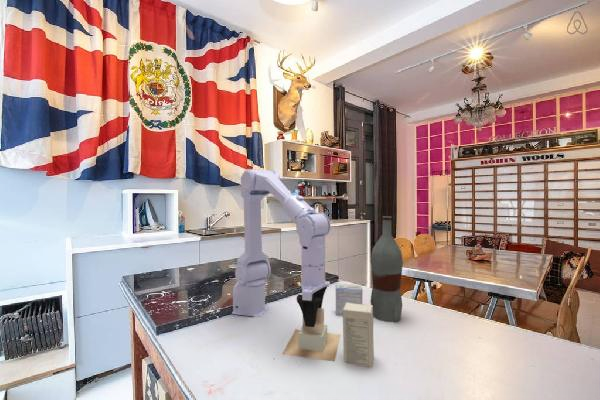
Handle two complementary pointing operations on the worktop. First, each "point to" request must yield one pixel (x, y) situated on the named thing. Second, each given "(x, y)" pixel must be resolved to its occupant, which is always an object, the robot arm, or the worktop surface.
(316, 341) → the sage block
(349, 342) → the skincare box
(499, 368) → the worktop surface
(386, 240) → the bottle
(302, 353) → the cork mat
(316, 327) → the maple cube
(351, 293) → the medicine box
